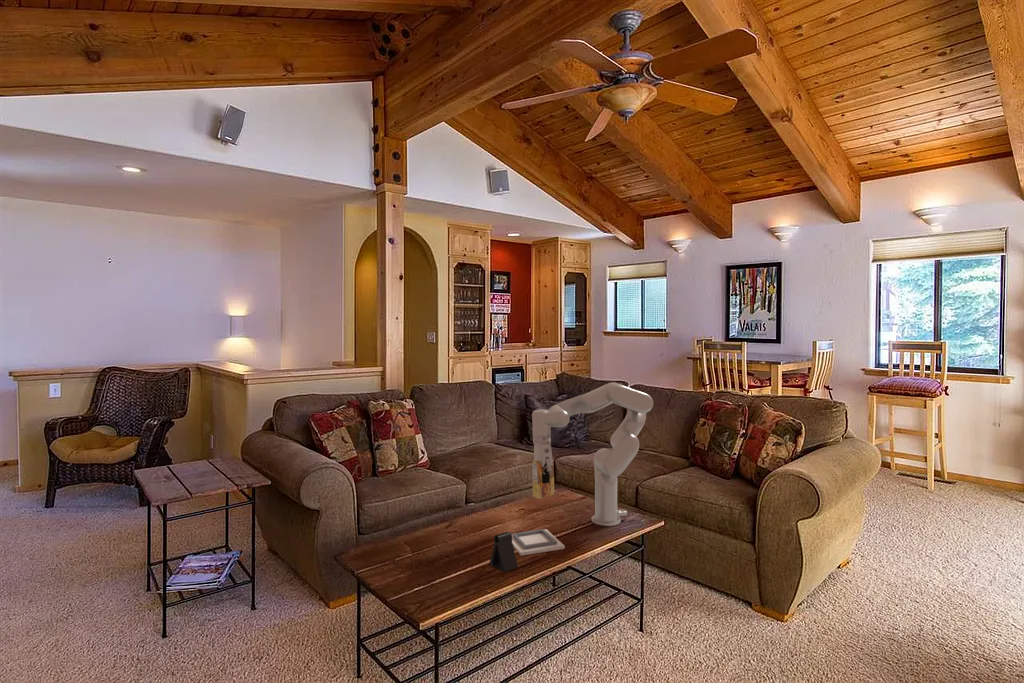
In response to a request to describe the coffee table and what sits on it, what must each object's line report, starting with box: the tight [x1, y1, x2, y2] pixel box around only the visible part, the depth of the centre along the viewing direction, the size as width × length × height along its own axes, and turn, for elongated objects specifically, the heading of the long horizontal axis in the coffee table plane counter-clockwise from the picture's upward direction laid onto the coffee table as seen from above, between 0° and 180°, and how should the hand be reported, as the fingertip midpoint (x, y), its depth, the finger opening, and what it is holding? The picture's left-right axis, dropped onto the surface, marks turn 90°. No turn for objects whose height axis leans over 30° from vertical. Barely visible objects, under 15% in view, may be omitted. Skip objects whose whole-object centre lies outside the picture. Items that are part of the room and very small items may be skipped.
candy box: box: [531, 458, 555, 500], centre depth 250 cm, size 9×4×15 cm, turn 126°
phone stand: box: [488, 531, 519, 573], centre depth 212 cm, size 9×6×12 cm, turn 40°
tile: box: [511, 528, 566, 557], centre depth 232 cm, size 18×18×2 cm
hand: (543, 480), depth 250 cm, fingers closed on candy box, 5 cm apart
